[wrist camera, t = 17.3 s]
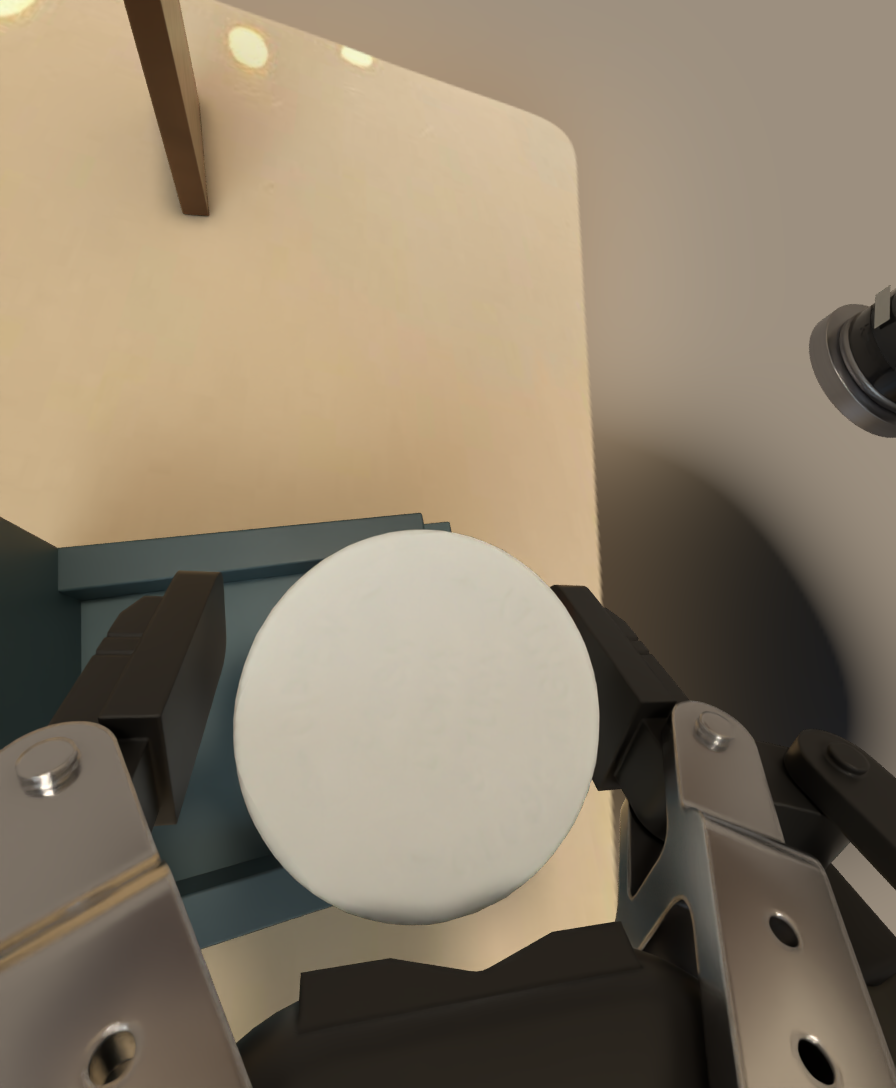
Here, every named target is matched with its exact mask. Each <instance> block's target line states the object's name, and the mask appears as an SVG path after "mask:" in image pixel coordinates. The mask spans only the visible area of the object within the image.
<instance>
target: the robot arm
mask: <svg viewBox="0 0 896 1088" xmlns="http://www.w3.org/2000/svg"><path fill="white" fill-rule="evenodd" d="M839 344H840V350H841V354H842V358H843V360H844V363H845V365H846V367H847V369H848V371H849V373H850V374H851V376H852V378H853V379H854V380H855V382H856V383H857V384H858V386H859V387H860V388H861V389H862V390H863V391H864V392H865V393H866V394H867V395H868V396H869V397H870V398H871V399H872V400H873V401H875V402H876V403H877V404H879V405H881V406H882V407H884V408H886V409H888V410H890V411H892V412H895V413H896V289H894V290H893V291H891V292H890V285H889V286H888V287H887V288H885V289H884V290H882V291H881V292H879V293H878V294H877V295H876V297H875V303H874V304H873V305H871V306H870V307H868V308H867V309H865V310H864V311H861V312H859V313H857V314H856V315H854V316H853V317H851V318H850V319H848V320H847V321H846V322H845V323H844V325H843V326H842V328H841V331H840V337H839ZM550 588H551V589H552V591H553V592H554V593H555V594H556V596H557V597H558V598H559V600H560V601H561V602H562V604H563V605H564V606H565V608H566V609H567V611H568V613H569V614H570V616H571V618H572V619H573V621H574V623H575V625H576V627H577V629H578V630H579V632H580V634H581V636H582V639H583V641H584V643H585V646H586V648H587V651H588V654H589V657H590V661H591V664H592V667H593V671H594V676H595V681H596V684H597V692H598V703H599V741H598V750H597V759H596V765H595V769H594V773H593V777H592V780H593V782H594V784H595V786H596V788H597V790H598V791H603V790H615V789H622V791H623V793H624V794H625V796H626V799H625V801H624V803H623V805H622V807H621V812H620V840H619V874H618V905H617V913H616V919H615V922H611V923H604V924H598V925H592V926H586V927H580V928H574V929H568V930H561V931H555V932H551V933H549V934H548V935H546V936H544V937H542V938H541V939H539V940H537V941H535V942H534V943H532V944H530V945H528V946H527V947H525V948H523V949H521V950H520V951H518V952H516V953H514V954H513V955H511V956H509V957H507V958H506V959H504V960H502V961H500V962H499V963H497V964H495V965H493V966H492V967H490V968H488V969H486V970H483V971H478V972H475V971H466V970H460V969H454V968H447V967H441V966H435V965H429V964H422V963H416V962H410V961H404V960H398V959H391V958H389V959H383V960H377V961H371V962H364V963H358V964H352V965H346V966H340V967H334V968H327V969H321V970H315V971H309V972H303V973H301V978H300V995H299V1001H297V1002H295V1003H293V1004H292V1005H290V1006H288V1007H286V1008H284V1009H282V1010H280V1011H278V1012H276V1013H275V1014H274V1015H272V1016H271V1017H269V1018H268V1019H266V1020H265V1021H263V1022H262V1023H260V1024H259V1025H258V1026H256V1027H255V1028H253V1029H252V1030H251V1031H250V1032H249V1033H247V1034H246V1035H245V1036H244V1037H243V1038H242V1039H240V1040H239V1041H238V1042H237V1043H236V1042H235V1040H234V1037H233V1034H232V1032H231V1029H230V1026H229V1024H228V1021H227V1018H226V1016H225V1013H224V1010H223V1008H222V1005H221V1002H220V1000H219V997H218V994H217V992H216V989H215V986H214V984H213V981H212V978H211V976H210V973H209V970H208V968H207V965H206V962H205V960H204V957H203V954H202V952H201V949H200V946H199V944H198V941H197V938H196V936H195V933H194V930H193V928H192V925H191V922H190V920H189V917H188V914H187V912H186V909H185V906H184V904H183V901H182V898H181V896H180V893H179V890H178V888H177V885H176V883H175V880H174V877H173V875H172V873H171V870H170V868H169V866H168V864H167V862H166V861H165V860H161V858H160V856H159V853H158V851H157V848H156V846H155V843H154V840H153V837H152V835H151V833H152V830H153V827H154V826H162V825H174V824H177V822H178V818H179V815H180V811H181V808H182V805H183V801H184V798H185V794H186V791H187V788H188V784H189V781H190V777H191V774H192V771H193V767H194V764H195V760H196V757H197V754H198V750H199V747H200V743H201V740H202V737H203V733H204V730H205V726H206V723H207V719H208V716H209V713H210V709H211V706H212V702H213V699H214V696H215V692H216V689H217V685H218V682H219V679H220V675H221V672H222V668H223V664H224V659H225V652H226V618H225V599H224V582H223V576H222V573H221V572H206V571H177V572H176V574H175V576H174V577H173V579H172V581H171V583H170V585H169V587H168V589H167V590H166V592H165V594H164V596H143V597H142V598H140V599H139V600H137V601H136V602H135V603H133V604H132V605H130V606H129V607H128V608H126V609H125V610H123V611H122V612H121V613H120V614H119V615H118V617H117V618H116V620H115V621H114V623H113V625H112V626H111V628H110V629H109V631H108V632H107V637H104V639H103V640H102V642H101V643H100V645H99V646H98V648H97V649H96V654H95V655H93V656H92V657H91V659H90V660H89V662H88V663H87V665H86V667H85V668H84V670H83V671H82V673H81V674H80V676H79V677H78V679H77V681H76V682H75V684H74V685H73V687H72V688H71V690H70V691H69V693H68V695H67V696H66V698H65V699H64V701H63V702H62V704H61V705H60V707H59V709H58V710H57V712H56V713H55V715H54V716H53V718H52V719H51V721H50V723H49V724H48V726H46V727H43V728H40V729H37V730H35V731H32V732H30V733H28V734H26V735H24V736H22V737H20V738H18V739H16V740H15V741H13V742H11V743H10V744H8V745H7V746H5V747H4V748H3V749H1V750H0V1088H896V937H895V936H894V934H893V933H892V932H891V931H890V930H889V929H888V928H887V926H886V925H885V924H884V923H883V922H882V921H881V920H880V919H879V917H878V916H877V915H876V914H875V913H874V912H873V910H872V909H871V908H870V907H869V906H868V905H867V904H866V903H865V901H864V900H863V899H862V898H861V897H860V896H859V894H858V893H857V892H856V891H855V890H854V889H853V888H852V886H851V885H850V884H849V883H848V882H847V881H846V880H845V878H844V877H843V876H842V875H841V874H840V873H839V871H838V870H837V869H836V868H835V867H834V866H833V865H832V864H831V862H832V861H833V860H834V859H835V858H836V857H837V856H838V855H839V854H840V853H841V852H842V850H843V849H844V848H845V847H846V846H847V845H848V844H849V843H850V842H851V843H852V844H853V845H854V846H855V847H856V848H857V849H858V850H859V851H860V853H861V854H862V855H863V856H864V857H865V858H866V859H867V860H868V861H869V862H870V863H871V864H872V865H873V866H874V867H875V869H876V870H877V871H878V872H879V873H880V874H881V875H882V876H883V877H884V878H885V879H886V880H887V881H888V882H889V883H890V884H891V886H892V887H893V888H894V889H895V890H896V778H895V777H894V776H893V775H892V774H890V773H889V772H888V771H887V770H886V769H885V768H884V767H882V766H881V765H880V764H879V763H877V761H875V760H874V759H873V758H872V757H870V756H869V755H868V754H867V753H866V752H864V751H863V750H862V749H860V748H859V747H857V746H856V745H854V744H852V743H851V742H849V741H847V740H845V739H844V738H841V737H839V736H837V735H835V734H832V733H829V732H826V731H822V730H817V729H807V730H804V731H802V732H801V733H800V734H799V735H798V737H797V738H796V739H795V741H794V742H793V744H792V745H791V746H790V748H788V747H784V746H779V745H775V744H770V743H767V742H762V741H758V740H754V739H753V738H752V736H751V735H750V734H749V732H748V731H747V730H746V729H745V728H744V727H743V726H742V725H741V724H740V723H739V722H738V721H737V720H736V719H734V718H733V717H731V716H730V715H729V714H727V713H725V712H724V711H722V710H720V709H718V708H716V707H714V706H711V705H709V704H706V703H702V702H697V701H690V700H689V699H688V698H687V697H686V695H685V694H684V693H683V692H682V690H681V689H680V688H679V687H678V685H676V683H675V682H674V681H673V679H672V678H671V677H670V676H669V675H668V673H667V672H666V671H665V670H664V668H663V667H662V666H661V665H660V664H659V662H658V661H657V660H656V659H655V658H654V656H653V655H652V654H649V651H648V649H647V648H646V647H645V646H644V644H643V643H642V642H641V641H638V637H637V636H636V634H635V633H634V632H633V631H632V630H631V628H630V627H629V626H628V625H627V624H626V622H625V621H623V620H622V619H621V618H619V617H618V616H617V615H615V614H614V613H612V612H611V611H609V610H608V609H607V608H603V606H602V605H601V604H600V603H599V601H598V600H597V599H596V598H595V596H594V595H593V594H592V592H591V591H590V590H589V589H588V588H587V587H585V586H573V585H553V586H551V587H550Z"/></svg>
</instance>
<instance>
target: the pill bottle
mask: <svg viewBox="0 0 896 1088" xmlns="http://www.w3.org/2000/svg"><path fill="white" fill-rule="evenodd" d="M598 741H599V703H598V692H597V684H596V681H595V676H594V671H593V667H592V664H591V661H590V657H589V654H588V651H587V648H586V646H585V643H584V641H583V639H582V636H581V634H580V632H579V630H578V629H577V627H576V625H575V623H574V621H573V619H572V618H571V616H570V614H569V613H568V611H567V609H566V608H565V606H564V605H563V604H562V602H561V601H560V600H559V598H558V597H557V596H556V594H555V593H554V592H553V591H552V589H551V588H550V587H549V586H548V585H547V584H546V583H545V582H544V581H543V580H542V579H541V578H540V577H539V576H538V575H537V574H536V573H535V572H533V571H532V570H531V569H530V568H528V567H527V566H526V565H524V564H523V563H522V562H520V561H519V560H518V559H516V558H515V557H513V556H511V555H510V554H508V553H507V552H505V551H504V550H502V549H500V548H498V547H495V546H493V545H491V544H489V543H486V542H484V541H482V540H479V539H476V538H474V537H470V536H466V535H462V534H458V533H452V532H447V531H440V530H404V531H396V532H389V533H386V534H382V535H378V536H374V537H370V538H367V539H364V540H362V541H359V542H356V543H354V544H351V545H349V546H347V547H345V548H343V549H341V550H339V551H338V552H336V553H334V554H332V555H330V556H329V557H327V558H325V559H324V560H322V561H321V562H319V563H318V564H317V565H315V566H314V567H313V568H311V569H310V570H309V571H308V572H307V573H306V574H304V575H303V576H302V577H301V578H300V579H299V580H298V581H297V582H296V583H295V584H293V585H292V586H291V587H290V588H289V589H288V590H287V592H286V593H285V594H284V595H283V596H282V598H281V599H280V600H279V601H278V603H277V604H276V605H275V606H274V607H273V609H272V610H271V612H270V614H269V615H268V617H267V619H266V620H265V622H264V624H263V625H262V627H261V628H260V630H259V631H258V633H257V634H256V637H255V639H254V641H253V644H252V646H251V649H250V651H249V654H248V656H247V659H246V661H245V664H244V667H243V671H242V674H241V678H240V681H239V686H238V690H237V694H236V699H235V708H234V718H233V745H234V757H235V761H236V767H237V775H238V779H239V784H240V788H241V792H242V795H243V798H244V801H245V804H246V807H247V810H248V812H249V814H250V816H251V818H252V821H253V823H254V825H255V827H256V828H257V830H258V832H259V833H260V835H261V837H262V839H263V840H264V842H265V843H266V845H267V846H268V848H269V849H270V851H271V852H272V854H273V855H274V857H275V858H276V859H277V860H278V861H279V863H280V864H281V865H282V866H283V867H284V869H285V870H286V871H287V872H288V873H289V874H290V875H291V876H292V877H293V878H294V879H295V880H296V881H298V882H299V883H300V884H301V885H302V886H304V887H305V888H306V889H307V890H309V891H310V892H311V893H313V894H314V895H316V896H317V897H319V898H320V899H322V900H324V901H325V902H327V903H329V904H331V905H333V906H335V907H336V908H338V909H340V910H342V911H344V912H346V913H349V914H352V915H355V916H359V917H362V918H365V919H369V920H373V921H378V922H382V923H388V924H398V925H430V924H435V923H441V922H446V921H450V920H453V919H456V918H460V917H463V916H466V915H469V914H473V913H476V912H478V911H480V910H482V909H484V908H486V907H488V906H490V905H493V904H495V903H497V902H498V901H500V900H502V899H504V898H506V897H507V896H509V895H510V894H511V893H512V892H514V891H515V890H516V889H518V888H519V887H520V886H522V885H523V884H524V883H526V882H527V881H528V880H529V879H530V878H532V877H533V876H534V875H535V874H536V873H537V872H538V871H539V870H540V869H541V868H542V867H543V865H544V864H545V863H546V862H547V861H548V860H549V859H550V857H551V856H552V855H553V854H554V853H555V851H556V850H557V848H558V847H559V846H560V844H561V843H562V841H563V840H564V839H565V837H566V836H567V834H568V833H569V831H570V829H571V828H572V826H573V824H574V823H575V820H576V818H577V816H578V814H579V812H580V810H581V808H582V806H583V803H584V800H585V797H586V795H587V793H588V791H589V787H590V782H591V780H592V777H593V773H594V769H595V765H596V759H597V750H598Z"/></svg>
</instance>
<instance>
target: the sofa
mask: <svg viewBox="0 0 896 1088" xmlns="http://www.w3.org/2000/svg"><path fill="white" fill-rule="evenodd" d="M404 530H440V531H447V532H451V527H450V523H449V522H440V523H430V524H424V523H423V517H422V514H421V513H413V514H403V515H393V516H382V517H372V518H362V519H351V520H341V521H331V522H321V523H310V524H300V525H290V526H279V527H269V528H259V529H248V530H238V531H228V532H218V533H207V534H197V535H187V536H176V537H166V538H156V539H146V540H135V541H125V542H115V543H104V544H94V545H84V546H73V547H63V548H57V547H55V546H53V545H51V544H49V543H48V542H46V541H44V540H42V539H40V538H38V537H36V536H35V535H33V534H31V533H29V532H27V531H25V530H24V529H22V528H20V527H18V526H16V525H14V524H13V523H11V522H9V521H7V520H5V519H3V518H2V517H0V750H1V749H3V748H4V747H5V746H7V745H8V744H10V743H11V742H13V741H15V740H16V739H18V738H20V737H22V736H24V735H26V734H28V733H30V732H32V731H35V730H37V729H40V728H43V727H46V726H48V724H49V723H50V721H51V719H52V718H53V716H54V715H55V713H56V712H57V710H58V709H59V707H60V705H61V704H62V702H63V701H64V699H65V698H66V696H67V695H68V693H69V691H70V690H71V688H72V687H73V685H74V684H75V682H76V681H77V679H78V677H79V676H80V674H81V673H82V671H83V670H84V668H85V667H86V665H87V663H88V662H89V660H90V659H91V657H92V656H93V655H95V654H96V649H97V648H98V646H99V645H100V643H101V642H102V640H103V639H104V637H107V632H108V631H109V629H110V628H111V626H112V625H113V623H114V621H115V620H116V618H117V617H118V615H119V614H120V613H121V612H122V611H123V610H125V609H126V608H128V607H129V606H130V605H132V604H133V603H135V602H136V601H137V600H139V599H140V598H142V597H143V596H164V594H165V592H166V590H167V589H168V587H169V585H170V583H171V581H172V579H173V577H174V576H175V574H176V572H177V571H206V572H221V573H222V576H223V582H224V599H225V618H226V652H225V659H224V664H223V668H222V672H221V675H220V679H219V682H218V685H217V689H216V692H215V696H214V699H213V702H212V706H211V709H210V713H209V716H208V719H207V723H206V726H205V730H204V733H203V737H202V740H201V743H200V747H199V750H198V754H197V757H196V760H195V764H194V767H193V771H192V774H191V777H190V781H189V784H188V788H187V791H186V794H185V798H184V801H183V805H182V808H181V811H180V815H179V818H178V822H177V824H174V825H162V826H154V827H153V830H152V833H151V835H152V837H153V840H154V843H155V846H156V848H157V851H158V853H159V856H160V858H161V860H165V861H166V862H167V864H168V866H169V868H170V870H171V873H172V875H173V877H174V880H175V883H176V885H177V888H178V890H179V893H180V896H181V898H182V901H183V904H184V906H185V909H186V912H187V914H188V917H189V920H190V922H191V925H192V928H193V930H194V933H195V936H196V938H197V941H198V944H199V946H200V949H204V948H207V947H210V946H213V945H216V944H219V943H222V942H225V941H228V940H231V939H234V938H237V937H240V936H243V935H246V934H249V933H252V932H255V931H258V930H261V929H264V928H267V927H270V926H273V925H276V924H279V923H282V922H286V921H289V920H292V919H295V918H298V917H301V916H304V915H307V914H310V913H313V912H316V911H319V910H322V909H325V908H328V907H331V906H333V905H331V904H329V903H327V902H325V901H324V900H322V899H320V898H319V897H317V896H316V895H314V894H313V893H311V892H310V891H309V890H307V889H306V888H305V887H304V886H302V885H301V884H300V883H299V882H298V881H296V880H295V879H294V878H293V877H292V876H291V875H290V874H289V873H288V872H287V871H286V870H285V869H284V867H283V866H282V865H281V864H280V863H279V861H278V860H277V859H276V858H275V857H274V855H273V854H272V852H271V851H270V849H269V848H268V846H267V845H266V843H265V842H264V840H263V839H262V837H261V835H260V833H259V832H258V830H257V828H256V827H255V825H254V823H253V821H252V818H251V816H250V814H249V812H248V810H247V807H246V804H245V801H244V798H243V795H242V792H241V788H240V784H239V779H238V775H237V767H236V761H235V757H234V745H233V718H234V708H235V699H236V694H237V690H238V686H239V681H240V678H241V674H242V671H243V667H244V664H245V661H246V659H247V656H248V654H249V651H250V649H251V646H252V644H253V641H254V639H255V637H256V634H257V633H258V631H259V630H260V628H261V627H262V625H263V624H264V622H265V620H266V619H267V617H268V615H269V614H270V612H271V610H272V609H273V607H274V606H275V605H276V604H277V603H278V601H279V600H280V599H281V598H282V596H283V595H284V594H285V593H286V592H287V590H288V589H289V588H290V587H291V586H292V585H293V584H295V583H296V582H297V581H298V580H299V579H300V578H301V577H302V576H303V575H304V574H306V573H307V572H308V571H309V570H310V569H311V568H313V567H314V566H315V565H317V564H318V563H319V562H321V561H322V560H324V559H325V558H327V557H329V556H330V555H332V554H334V553H336V552H338V551H339V550H341V549H343V548H345V547H347V546H349V545H351V544H354V543H356V542H359V541H362V540H364V539H367V538H370V537H374V536H378V535H382V534H386V533H389V532H396V531H404Z"/></svg>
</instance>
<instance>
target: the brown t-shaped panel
mask: <svg viewBox="0 0 896 1088" xmlns="http://www.w3.org/2000/svg"><path fill="white" fill-rule="evenodd" d="M124 4H125V8H126V11H127V15H128V18H129V22H130V26H131V29H132V33H133V36H134V40H135V43H136V47H137V51H138V54H139V58H140V61H141V65H142V69H143V72H144V76H145V79H146V83H147V87H148V90H149V94H150V97H151V101H152V104H153V108H154V112H155V115H156V119H157V122H158V126H159V130H160V133H161V137H162V140H163V144H164V148H165V151H166V155H167V158H168V162H169V165H170V169H171V173H172V176H173V180H174V183H175V187H176V191H177V194H178V198H179V201H180V205H181V209H182V212H183V214H191V215H203V216H209V209H208V198H207V187H206V175H205V164H204V153H203V141H202V130H201V119H200V108H199V98H198V93H197V88H196V83H195V78H194V73H193V68H192V63H191V58H190V52H189V47H188V42H187V37H186V32H185V27H184V22H183V17H182V12H181V7H180V2H179V0H124Z"/></svg>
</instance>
